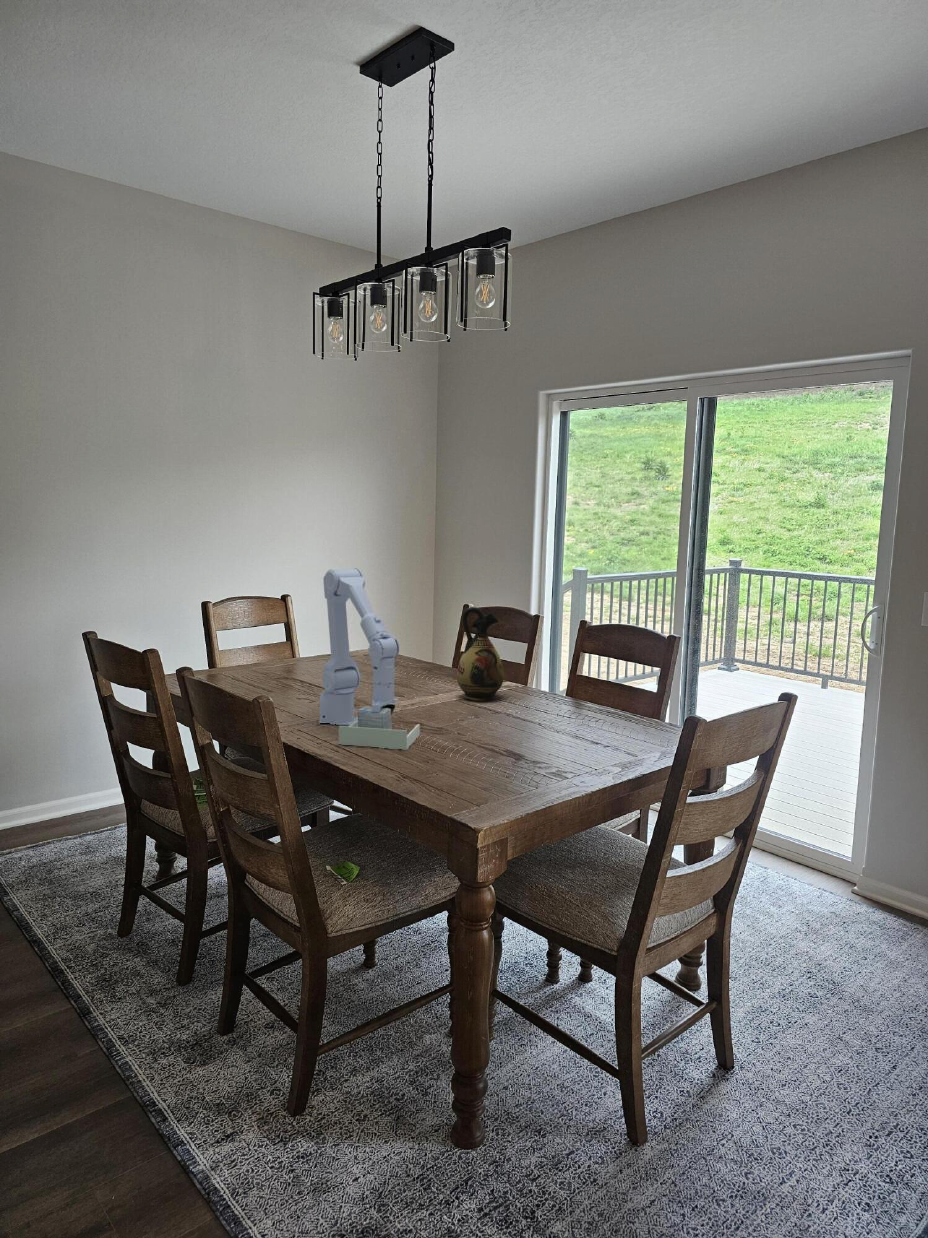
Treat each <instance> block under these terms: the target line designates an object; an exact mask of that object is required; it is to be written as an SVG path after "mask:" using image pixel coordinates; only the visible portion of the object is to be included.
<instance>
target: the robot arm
mask: <svg viewBox="0 0 928 1238" xmlns="http://www.w3.org/2000/svg"><path fill="white" fill-rule="evenodd" d="M365 585H366V578H365V577H364V574H363V572H362V570H361V569H360V568H349V569H347V568H346V569H330V568H329V569H328V570H327V571H326V573H325V574H324V576H323V591H324V598H325V599H326V603H327V604H326V607H327V618H328V620H327V621H328V633H329V635H328V636H329V647H330V659H329V660H328V661H327V662H326V663H325V664H324V665H323V667H322V669H323V670H322V671H323V672H322V676H321V682H322V686H323V688H324V690H323V691H321V693H320V696H319V721H318V724H320V723H330V724H329V725H335V724H336V725H337V726H349V725H351V724H352V723H353V722H354V721H356V720H358V716H355V692H356V691H357V688H359V686H360V684H361V674H360V671H359V667H358V663H357V661H355V660H354V659H353V658H351V656H350V643H349V631H348V617H347V614H348V613H347V604H346V603H347V601H348V600H349V599H350V602H351V603H352V604H353V606H354V609H356V611H357V613H358V615H359V616H360V618H361V620H360V628H361V629H362V631H363V633H364V636H365V638H366V640H367V642H368V644H369V645H368V646H369V647H368V648H367V650H368V654H369V658H370V664H371V666H372V698H371V703H372V704H371V707H372V712H380V708H388V709H391V717H393V712H394V710H395V708H396V705H395V704H393V703H397V704H398V702H399V698H396V697H395V663H396V662H395V659H396V658H397V657H398V656H399V654H400V645H399V642H398V639H397V638H396V637H395V636H392V634H391V633H388V630H387V629H386V626H385V624H384V622H383V620H382V618H381V617H380V615H379V614H376V613H374V611H373V609H372V606H371V602H370V601H369V598H368V596H367V593H366V591H365V587H366V586H365Z"/></svg>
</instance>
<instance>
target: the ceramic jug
mask: <svg viewBox="0 0 928 1238" xmlns="http://www.w3.org/2000/svg"><path fill="white" fill-rule="evenodd" d="M473 614H476V615H477V616H478V617H477V618H476V619H475V620H474V621H473V622H472V623H471V626H472V628H476V633H475V634H474V635H473V636H472V632H471V630H470V627H469V626H470V625H469V622H468V616H469V615H473ZM461 619H462V626H463V629H464V632H465V636H466V639H467V640H466V643H465V646H464V651H463V654H462V655H461V657H460V660H459V662H458V666H457V670H456V680H457V684H458V686H459V687H460V689H461V691H462V692H463V693H464V698H465V699H468V700H470V701H476V702H484V703H485V702H490V701H494V700H495V696H496V694H497V692H499V690H500V689H501V688H502V686H503V683H504V679H505V672H504V670H505V669H504V666H503V663H502V659H501V657H500V654H499V653H498V650H497V649H496V648H495V646H494V645H493V643H492V641H491V640H490V637H489V635H488V629H489V628H490V627H492V626H495V625H497V624H500V623H501V621H500V619H498V618H497V617H496V615H495V614H494V613H493V612H488V613H486V615H484V613H483V611H482V609H480V608H478V607H477V606H476V607H475V606H470V607H468V608H466V609H465V610H463V614H462V617H461Z"/></svg>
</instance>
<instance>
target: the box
mask: <svg viewBox="0 0 928 1238" xmlns="http://www.w3.org/2000/svg"><path fill="white" fill-rule="evenodd" d="M420 725H421V724H420V723H418V724H416V725H415V726H414V727H413V728H412V729H411V730H410V732H409V733H408V730H406V729H405V730H404V729H393V728H392V729H379V728H364V727H358V720H356V721H354V722H353V723H352V724H351V725H338V745H339V744H343V745H357V746H371V747H379V748H378V749H384V748H388V749H387V750H398V749H402V750H401V751H407V750H408V749H409V748H410V747H411V745H413V743H414V742H415V741H416V740H417V739H418V737H419V736H420V735H421V734H420V733H421V731H420V730H421V729H420V728H421V726H420ZM416 738H417V739H416ZM409 746H410V747H409Z"/></svg>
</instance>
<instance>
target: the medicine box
mask: <svg viewBox="0 0 928 1238" xmlns="http://www.w3.org/2000/svg"><path fill="white" fill-rule="evenodd" d="M357 717H358V727H364V728H379V729H393V727H392V725H393V724H392V716H391V709H388V708H380V712H372V705H370V706H368V705H365V706H363V707H361V708H359V709H358V710H357Z"/></svg>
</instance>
